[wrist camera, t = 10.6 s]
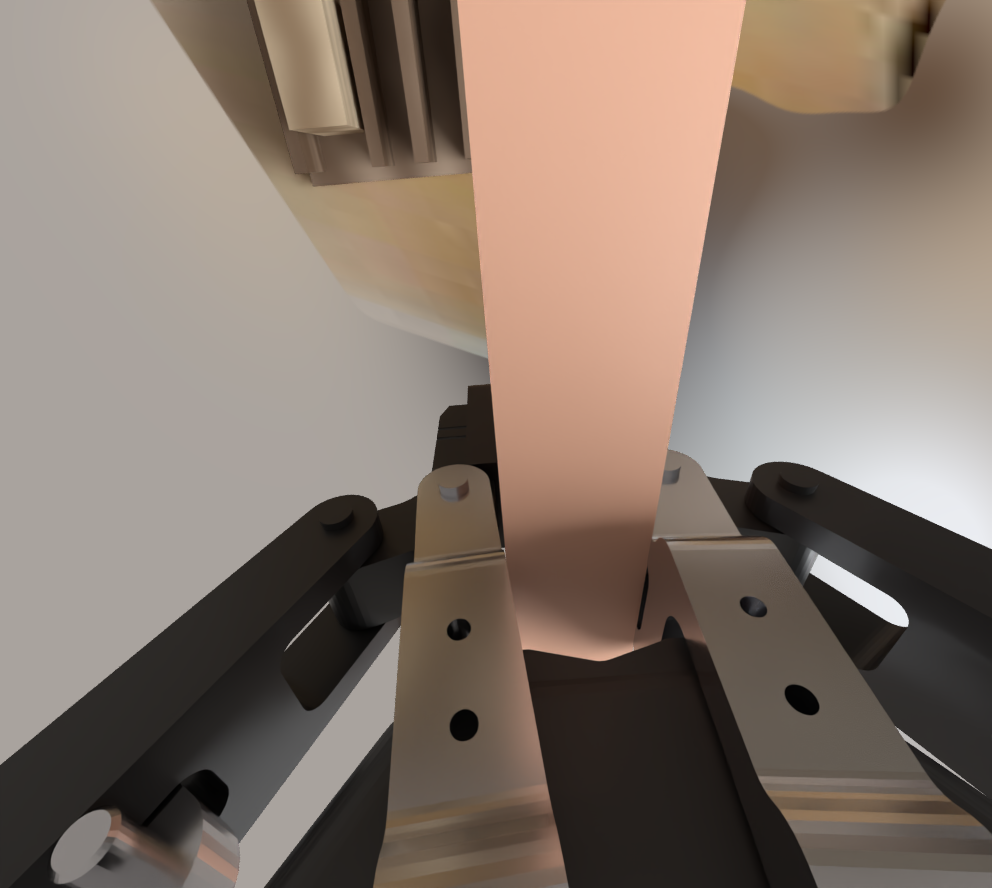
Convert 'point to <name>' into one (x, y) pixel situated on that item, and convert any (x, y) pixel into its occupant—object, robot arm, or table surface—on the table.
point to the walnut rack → (391, 96)
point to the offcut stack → (312, 65)
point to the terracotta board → (589, 280)
